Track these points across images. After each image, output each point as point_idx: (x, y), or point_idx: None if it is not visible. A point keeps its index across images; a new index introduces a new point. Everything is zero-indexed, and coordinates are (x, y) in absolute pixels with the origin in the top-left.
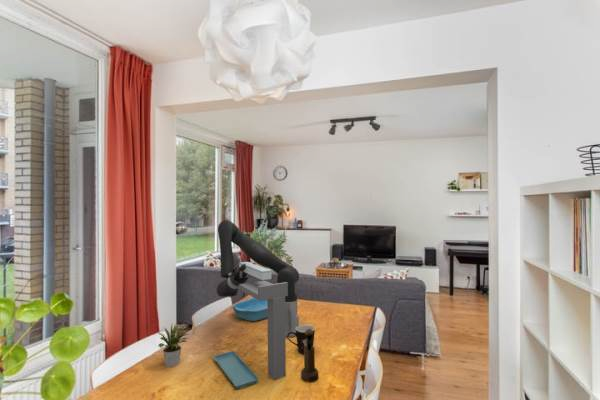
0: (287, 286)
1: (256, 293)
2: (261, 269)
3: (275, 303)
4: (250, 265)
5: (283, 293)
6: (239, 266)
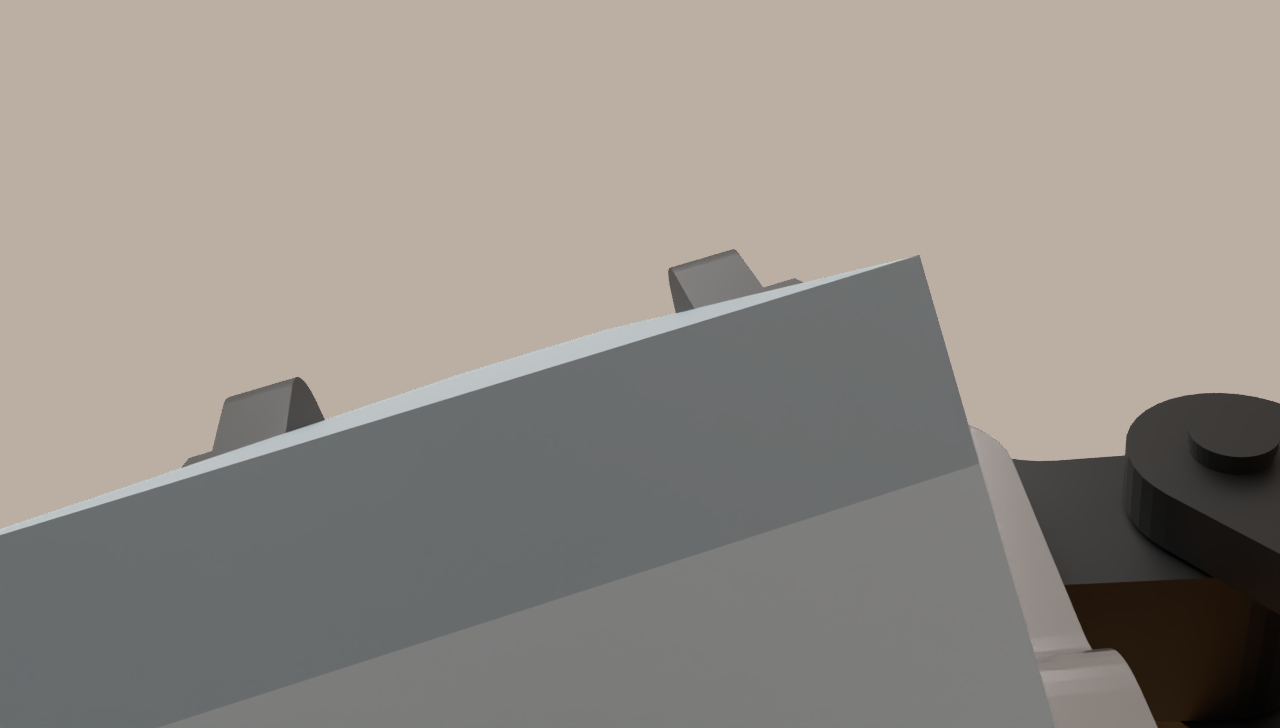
0: None
1: None
2: (552, 346)
3: None
4: (562, 346)
5: None
6: (1010, 671)
